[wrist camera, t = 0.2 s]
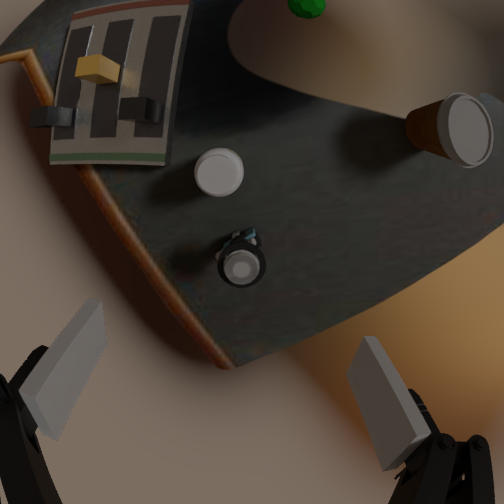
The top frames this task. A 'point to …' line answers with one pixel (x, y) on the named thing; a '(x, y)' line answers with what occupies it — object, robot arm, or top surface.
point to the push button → (241, 260)
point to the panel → (120, 85)
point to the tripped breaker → (97, 69)
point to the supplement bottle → (219, 172)
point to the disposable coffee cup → (452, 129)
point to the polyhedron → (307, 8)
